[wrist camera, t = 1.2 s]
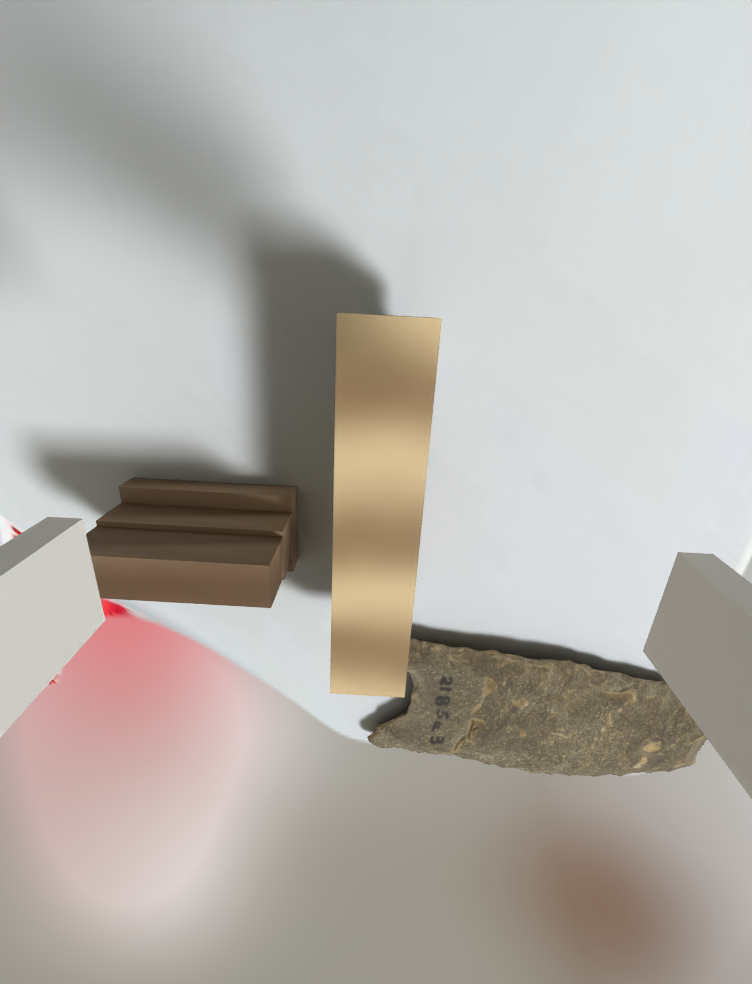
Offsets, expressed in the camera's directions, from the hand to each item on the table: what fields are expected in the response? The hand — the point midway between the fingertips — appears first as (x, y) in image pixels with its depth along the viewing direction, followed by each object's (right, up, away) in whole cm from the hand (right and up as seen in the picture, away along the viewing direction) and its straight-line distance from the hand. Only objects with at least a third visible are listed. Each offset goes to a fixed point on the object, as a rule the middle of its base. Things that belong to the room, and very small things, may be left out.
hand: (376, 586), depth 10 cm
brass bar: (0, +2, +14) cm, 14 cm away
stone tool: (+12, -14, +24) cm, 30 cm away
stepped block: (-10, 0, +18) cm, 21 cm away
